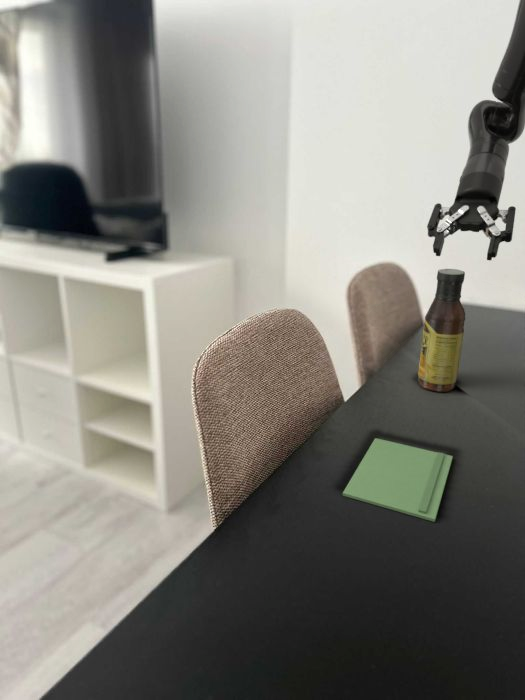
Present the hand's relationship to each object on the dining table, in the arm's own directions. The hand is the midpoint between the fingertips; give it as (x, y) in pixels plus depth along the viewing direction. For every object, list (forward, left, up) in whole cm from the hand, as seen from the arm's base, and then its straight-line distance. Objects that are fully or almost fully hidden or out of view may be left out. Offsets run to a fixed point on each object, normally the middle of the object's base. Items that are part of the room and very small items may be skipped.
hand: (462, 255), depth 90 cm
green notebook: (+25, +33, -21) cm, 46 cm away
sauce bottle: (+7, +9, -21) cm, 24 cm away
